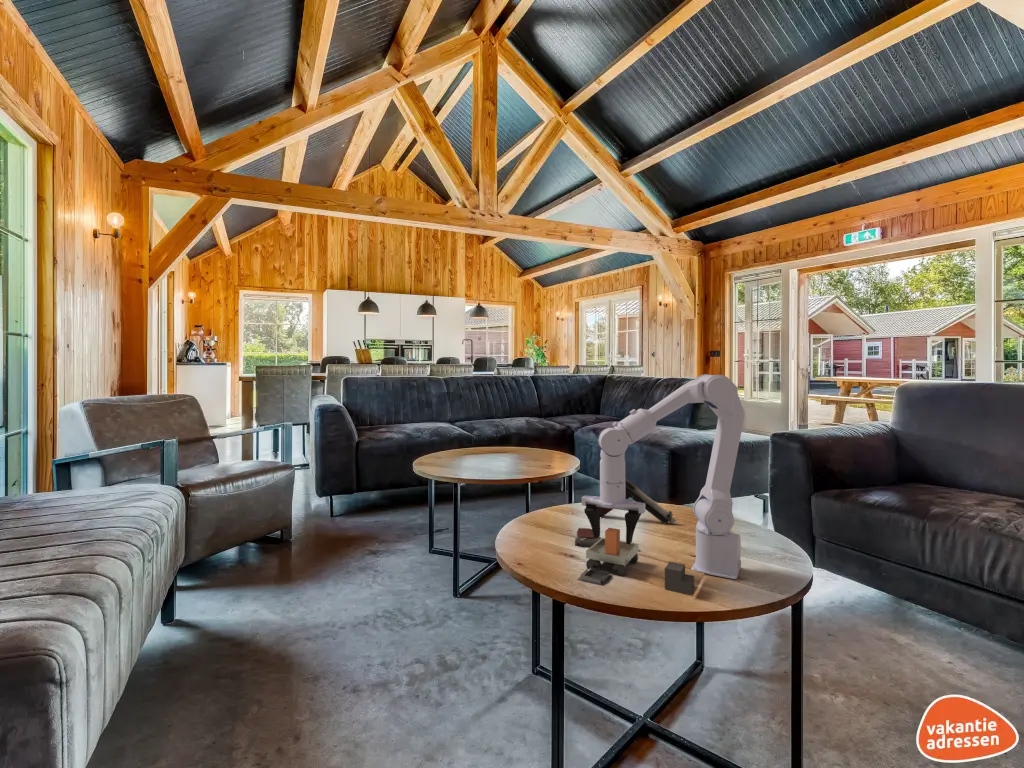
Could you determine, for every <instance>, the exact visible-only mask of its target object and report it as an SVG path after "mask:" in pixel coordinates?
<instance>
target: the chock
mask: <svg viewBox="0 0 1024 768" xmlns="http://www.w3.org/2000/svg"><path fill="white" fill-rule="evenodd" d="M694 589H695V575H692V574H686V564H685V563H678V562H673V561H669V562H668V563H667V565H666V566H665V567H664V590H665V591H670V592H675V593H678V594H679V593H680V594H685V595H689V596H690V595H691V594H692V592H693V591H694Z"/></svg>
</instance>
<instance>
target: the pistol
mask: <svg viewBox="0 0 1024 768" xmlns="http://www.w3.org/2000/svg"><path fill="white" fill-rule="evenodd" d="M601 538H602V537H601V536H600V537H598V538H597V539H595V538H594V535H593V531H592V528H586V527H578V529H577V532H576V538H575V539H574V545H575V546H576V547H580V548H590V547H591V546H592V545H594V544H595V543H596V542H597V541H598V540H600V539H601Z"/></svg>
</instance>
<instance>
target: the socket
mask: <svg viewBox="0 0 1024 768" xmlns="http://www.w3.org/2000/svg"><path fill="white" fill-rule="evenodd" d="M613 576H614V574H610V572H609V571H605V570H601V569H599V570H597V569H592V568H590V569H587V568H586V569H585V570H584V571H583V572H582V573H580V576H579V577H578V578H577V579H576V581H579V582H583V583H589V584H593V585H596V586H597V585H598V586H603V587H604V586H605V585H607V583H608V582H609V581H610V580H611V579H612V578H613Z"/></svg>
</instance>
